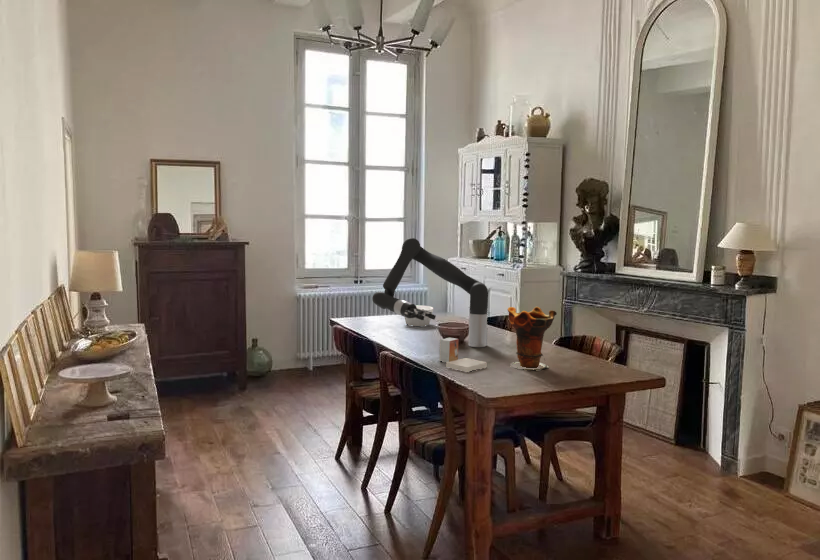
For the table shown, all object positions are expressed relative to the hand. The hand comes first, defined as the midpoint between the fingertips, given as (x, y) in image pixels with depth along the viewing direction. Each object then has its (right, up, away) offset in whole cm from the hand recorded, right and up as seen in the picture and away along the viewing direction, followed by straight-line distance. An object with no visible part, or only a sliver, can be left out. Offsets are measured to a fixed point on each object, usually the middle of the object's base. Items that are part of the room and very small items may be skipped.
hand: (429, 317), depth 315 cm
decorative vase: (+45, -22, -14) cm, 52 cm away
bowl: (-5, -10, +89) cm, 90 cm away
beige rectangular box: (+16, -21, -20) cm, 33 cm away
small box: (+9, -20, -7) cm, 23 cm away
